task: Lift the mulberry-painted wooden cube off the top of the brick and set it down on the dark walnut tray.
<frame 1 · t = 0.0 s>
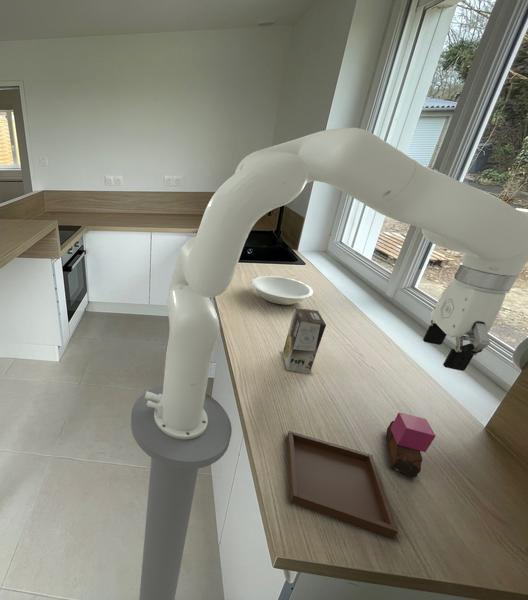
hand: (441, 354, 66), 20 cm above the counter, tool pointing down, fingers open, 9 cm apart
coffee box: (295, 363, 96), on the counter
mulberry cube: (407, 439, 65), point 5 cm above the counter, touching brick
tray: (332, 480, 62), on the counter
brick: (397, 456, 68), on the counter, touching mulberry cube
soup bowl: (277, 300, 136), on the counter
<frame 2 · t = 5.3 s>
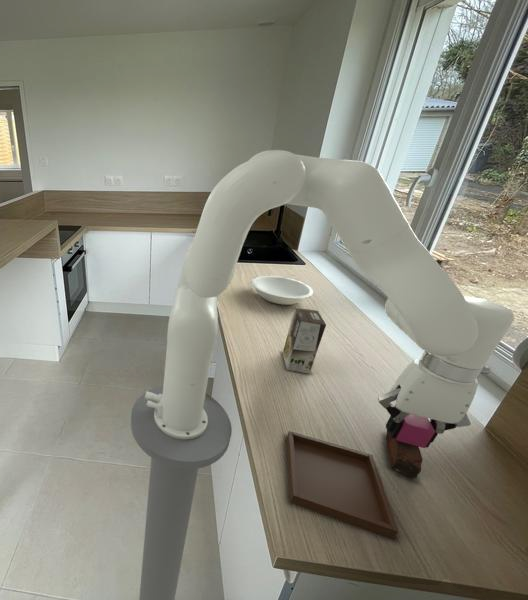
hand: (406, 436, 65), 5 cm above the counter, tool pointing down, fingers closed on mulberry cube, 4 cm apart
mulberry cube: (406, 435, 65), point 6 cm above the counter, touching gripper
brick: (397, 456, 68), on the counter
everything else where it was.
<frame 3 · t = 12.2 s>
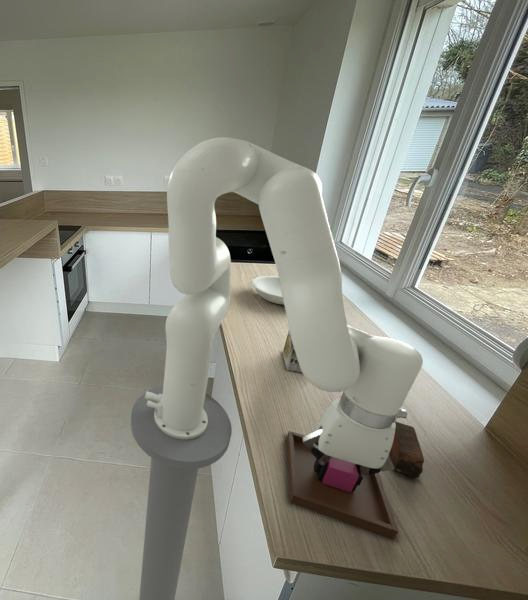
hand: (334, 478, 62), 1 cm above the counter, tool pointing down, fingers closed on mulberry cube, 4 cm apart
mulberry cube: (334, 477, 62), point 1 cm above the counter, touching gripper
everything else where it was.
when the fingers open (1 cm above the counter, at t = 17.5 s): mulberry cube stays where it is, resting on tray.
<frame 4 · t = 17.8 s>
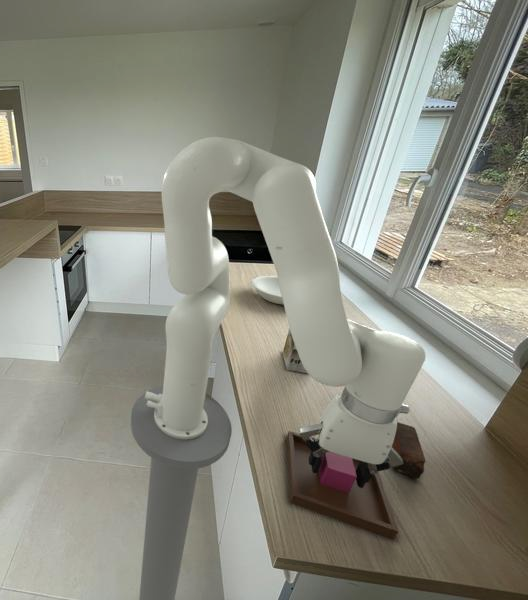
hand: (335, 473, 61), 2 cm above the counter, tool pointing down, fingers open, 6 cm apart
mulberry cube: (332, 478, 62), point 1 cm above the counter, touching tray
everything else where it was.
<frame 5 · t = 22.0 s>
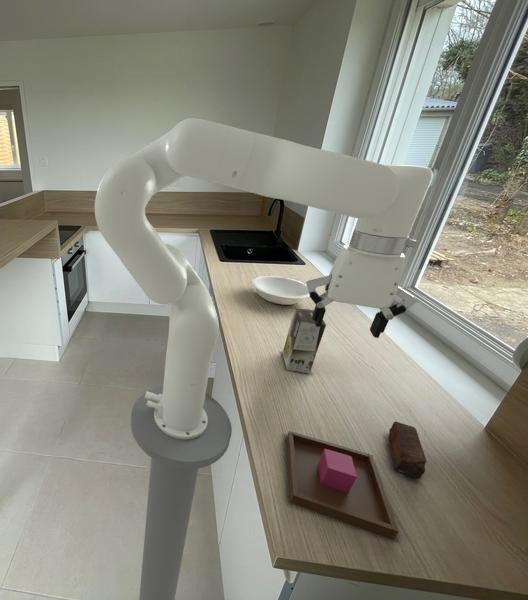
hand: (344, 328, 62), 26 cm above the counter, tool pointing down, fingers open, 9 cm apart
nothing on the counter moved.
at the end: mulberry cube inside the target area in the tray (0.1 cm from its centre), point 0.6 cm above the tray's base; mulberry cube tilted 0°; brick moved 0.6 cm from its start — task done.
